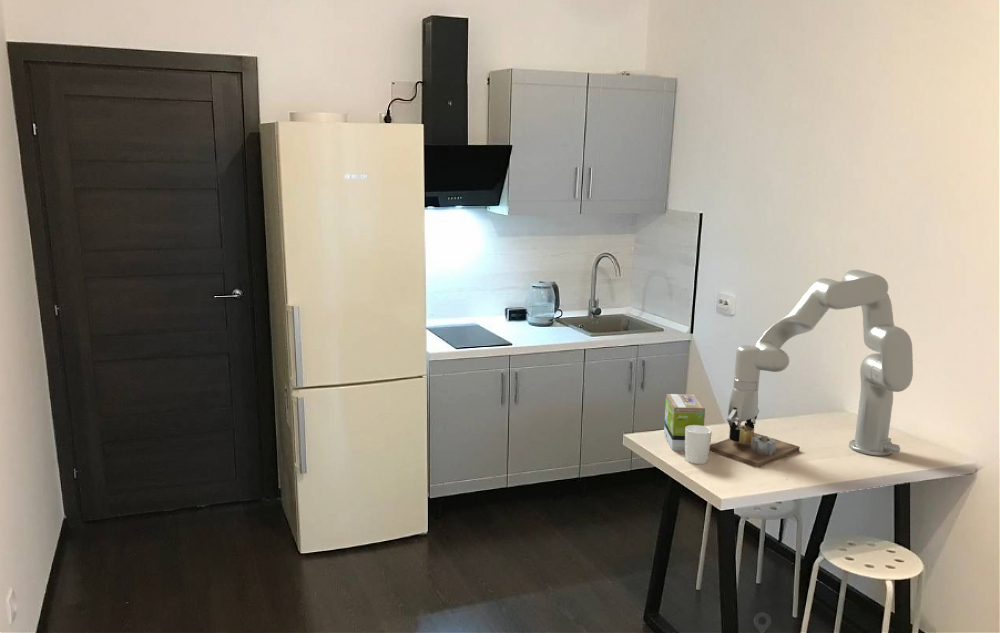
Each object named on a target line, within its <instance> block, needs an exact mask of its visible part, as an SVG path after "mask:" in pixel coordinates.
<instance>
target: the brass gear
mask: <svg viewBox="0 0 1000 633" xmlns="http://www.w3.org/2000/svg"><path fill="white" fill-rule="evenodd" d="M740 429H745V430H740ZM739 430H740V437H739V442H737V443H742V444H745V443H750V444H751V440H752V437H754V433H755V427H754V428H751V427H749V426H745V424H744V425H743V424H741V425H740V427H739ZM728 434H729V435H728V439H729V440H730V431H729V433H728ZM732 441H733V440H732ZM733 442H735V443H736V441H733Z"/></svg>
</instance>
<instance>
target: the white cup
mask: <svg viewBox="0 0 1000 633" xmlns="http://www.w3.org/2000/svg"><path fill="white" fill-rule="evenodd" d="M712 432H713V431H712V429H711V428H710V427H708V426H706V425H704V426H700V425H689V426H686V427H685V451H684V458H685V459H684V460H685V461H686V462H688V463H691V464H695V465H703V464H706V463H708V462H709V461H708V459H709V453H710V451H709V449H710V445H711V441H712V440H711V439H712Z"/></svg>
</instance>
